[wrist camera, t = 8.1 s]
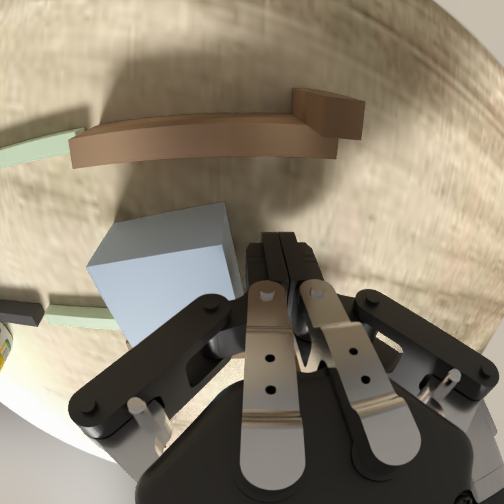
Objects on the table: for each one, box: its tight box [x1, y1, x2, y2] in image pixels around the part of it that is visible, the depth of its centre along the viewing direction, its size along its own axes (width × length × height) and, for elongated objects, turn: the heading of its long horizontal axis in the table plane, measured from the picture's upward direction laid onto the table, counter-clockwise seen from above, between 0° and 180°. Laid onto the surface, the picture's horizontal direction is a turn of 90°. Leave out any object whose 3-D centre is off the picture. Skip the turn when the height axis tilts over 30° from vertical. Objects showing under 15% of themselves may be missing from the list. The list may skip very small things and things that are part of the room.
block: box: [86, 202, 244, 348], centre depth 15 cm, size 6×6×4 cm
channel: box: [68, 88, 365, 372], centre depth 13 cm, size 10×15×5 cm
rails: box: [0, 127, 121, 330], centre depth 14 cm, size 6×12×1 cm, turn 179°
